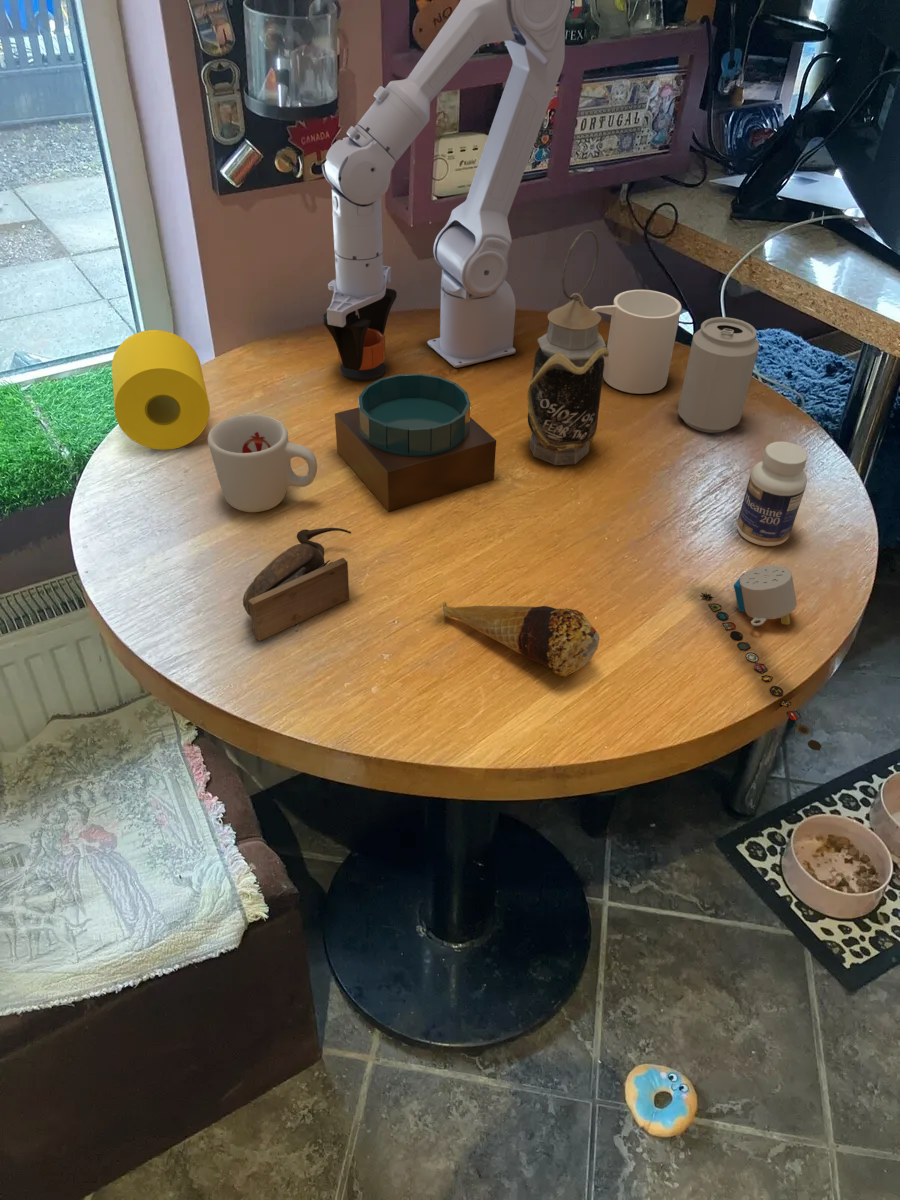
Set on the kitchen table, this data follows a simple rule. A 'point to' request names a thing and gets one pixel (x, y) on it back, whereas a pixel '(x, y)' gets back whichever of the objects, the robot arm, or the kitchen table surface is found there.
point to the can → (718, 374)
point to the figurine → (296, 586)
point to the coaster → (364, 373)
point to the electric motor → (766, 594)
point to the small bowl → (372, 349)
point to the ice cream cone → (535, 633)
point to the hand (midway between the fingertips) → (362, 356)
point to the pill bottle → (773, 495)
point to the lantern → (567, 380)
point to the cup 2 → (640, 340)
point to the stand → (415, 464)
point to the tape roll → (159, 390)
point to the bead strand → (761, 670)
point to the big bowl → (414, 414)
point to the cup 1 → (256, 461)
